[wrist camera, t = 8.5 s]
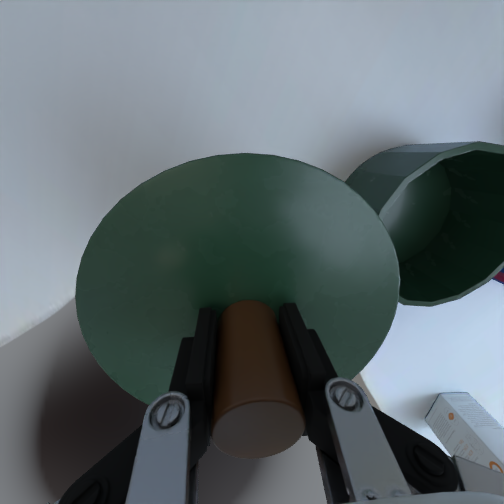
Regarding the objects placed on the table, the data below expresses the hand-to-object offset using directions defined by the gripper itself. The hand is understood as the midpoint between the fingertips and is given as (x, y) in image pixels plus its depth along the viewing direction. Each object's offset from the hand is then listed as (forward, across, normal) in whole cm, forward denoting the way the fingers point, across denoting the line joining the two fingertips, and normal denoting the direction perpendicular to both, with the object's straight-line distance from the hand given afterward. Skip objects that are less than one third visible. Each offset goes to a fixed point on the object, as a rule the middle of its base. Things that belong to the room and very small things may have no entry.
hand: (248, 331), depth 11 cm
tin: (+18, -19, -1) cm, 26 cm away
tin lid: (+1, 0, 0) cm, 1 cm away
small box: (+18, -40, +38) cm, 58 cm away
